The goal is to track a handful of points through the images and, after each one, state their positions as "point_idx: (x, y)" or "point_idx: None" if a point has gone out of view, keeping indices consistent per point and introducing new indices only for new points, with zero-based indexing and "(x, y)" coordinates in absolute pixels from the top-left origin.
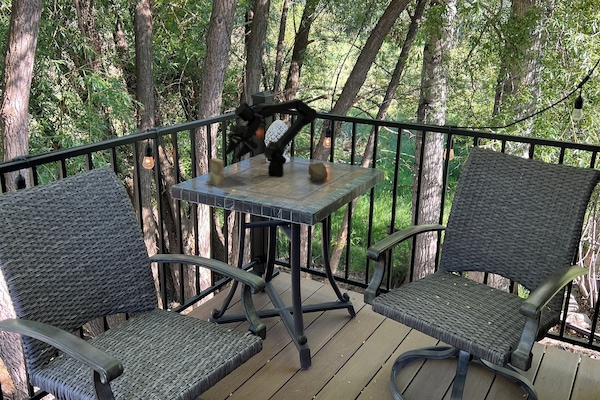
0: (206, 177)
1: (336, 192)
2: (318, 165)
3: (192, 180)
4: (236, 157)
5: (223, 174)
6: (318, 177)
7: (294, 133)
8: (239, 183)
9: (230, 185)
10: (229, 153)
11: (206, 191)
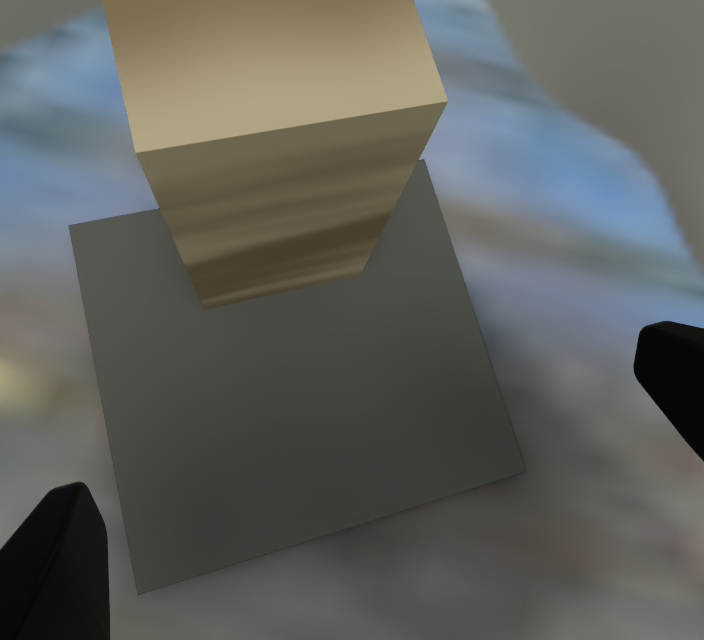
0: (604, 219)
1: None
2: None
3: (522, 72)
4: (46, 502)
5: (182, 260)
6: None
7: None
8: (210, 514)
9: (160, 379)
10: (673, 425)
11: (70, 90)
